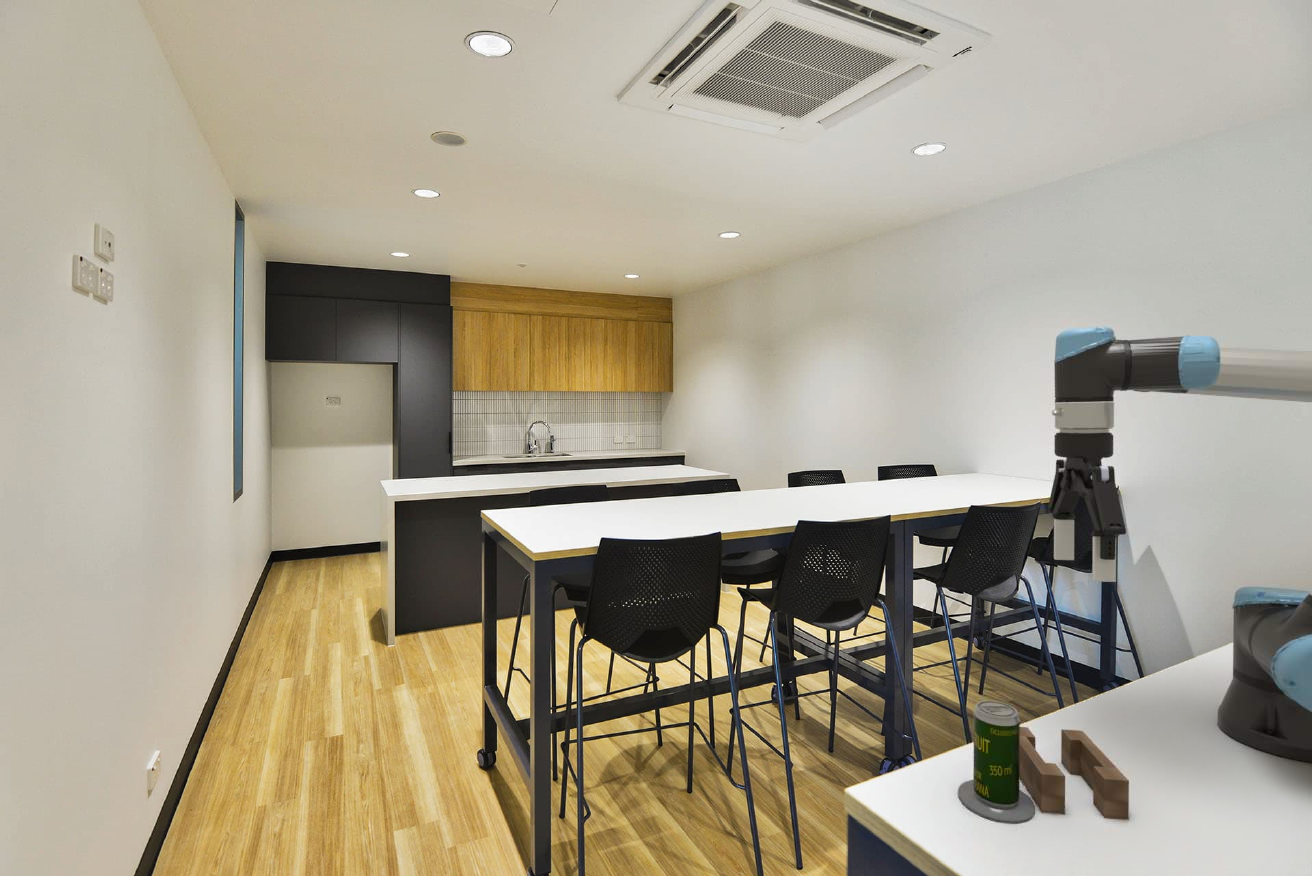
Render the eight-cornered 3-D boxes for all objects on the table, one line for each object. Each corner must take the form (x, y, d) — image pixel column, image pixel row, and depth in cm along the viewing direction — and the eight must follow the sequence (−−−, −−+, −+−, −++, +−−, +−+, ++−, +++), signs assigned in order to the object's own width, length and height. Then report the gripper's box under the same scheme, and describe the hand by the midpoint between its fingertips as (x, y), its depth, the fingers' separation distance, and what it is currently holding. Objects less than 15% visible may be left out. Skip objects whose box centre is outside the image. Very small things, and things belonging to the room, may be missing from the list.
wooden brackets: (1082, 764, 95) (1082, 730, 95) (1128, 819, 83) (1128, 780, 82) (1007, 759, 97) (1007, 725, 97) (1041, 812, 85) (1041, 774, 84)
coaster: (1020, 785, 90) (1020, 782, 90) (1046, 826, 82) (1046, 822, 82) (950, 780, 92) (950, 776, 92) (968, 819, 83) (968, 815, 83)
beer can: (1002, 785, 90) (1003, 698, 89) (1028, 808, 84) (1029, 716, 84) (965, 788, 89) (965, 700, 89) (988, 811, 84) (989, 719, 83)
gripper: (1026, 428, 113) (1026, 551, 114) (1094, 434, 89) (1093, 591, 89) (1074, 428, 112) (1074, 552, 113) (1157, 434, 87) (1155, 592, 88)
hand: (1082, 569), depth 101 cm, fingers open, 13 cm apart
